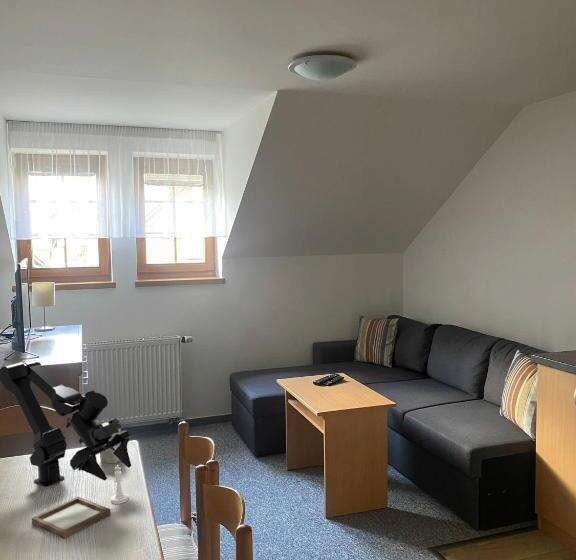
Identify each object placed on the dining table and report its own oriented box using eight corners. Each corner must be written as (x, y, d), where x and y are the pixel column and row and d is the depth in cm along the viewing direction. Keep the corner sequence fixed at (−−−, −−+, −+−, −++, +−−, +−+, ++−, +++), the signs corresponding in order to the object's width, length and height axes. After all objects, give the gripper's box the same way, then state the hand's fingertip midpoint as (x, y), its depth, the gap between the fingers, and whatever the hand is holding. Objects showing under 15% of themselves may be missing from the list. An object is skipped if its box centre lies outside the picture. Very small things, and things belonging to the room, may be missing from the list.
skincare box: (123, 458, 192) (121, 423, 191) (115, 464, 188) (113, 427, 186) (107, 456, 194) (105, 421, 193) (99, 462, 190) (96, 426, 188)
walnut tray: (32, 523, 150) (31, 517, 150) (78, 501, 162) (78, 496, 162) (64, 538, 143) (63, 532, 142) (110, 514, 154) (110, 509, 154)
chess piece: (123, 504, 160) (121, 469, 159) (107, 503, 161) (105, 468, 160) (131, 496, 164) (129, 462, 164) (115, 495, 165) (113, 461, 165)
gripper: (74, 422, 155) (106, 469, 150) (124, 403, 171) (155, 444, 167) (56, 447, 159) (87, 493, 155) (107, 425, 176) (136, 466, 171)
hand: (118, 473), depth 162 cm, fingers open, 9 cm apart
